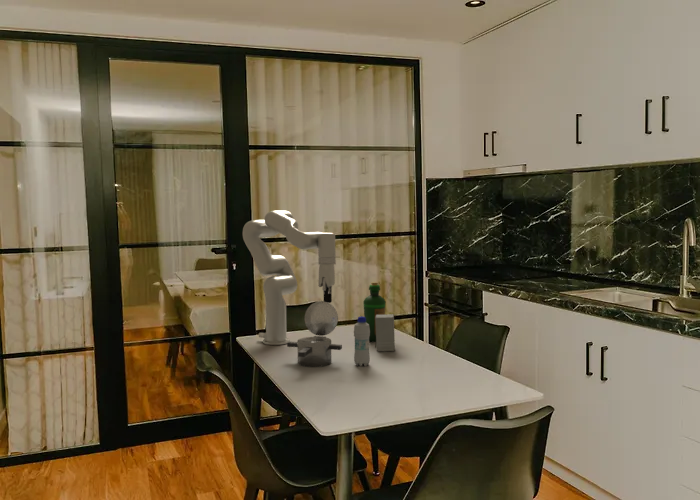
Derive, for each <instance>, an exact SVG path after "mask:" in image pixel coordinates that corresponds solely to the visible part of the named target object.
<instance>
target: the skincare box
mask: <svg viewBox="0 0 700 500" xmlns="http://www.w3.org/2000/svg"><path fill="white" fill-rule="evenodd" d="M375 321H376V342H375V346H376V349H375V350H376V352H395V346H396V345H395V344H396V343H395V341H396V340H395V339H396V338H395V316H394V314H385V315H376V317H375Z"/></svg>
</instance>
